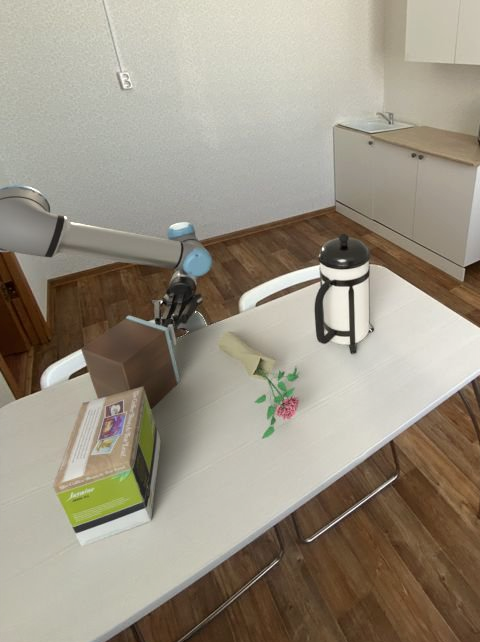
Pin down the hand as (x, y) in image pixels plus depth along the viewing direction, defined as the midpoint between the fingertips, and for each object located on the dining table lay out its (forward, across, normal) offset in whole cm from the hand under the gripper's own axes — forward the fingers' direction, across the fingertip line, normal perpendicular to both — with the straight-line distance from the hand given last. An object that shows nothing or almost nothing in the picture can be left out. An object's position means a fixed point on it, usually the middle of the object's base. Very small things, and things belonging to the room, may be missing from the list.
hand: (163, 340), depth 91 cm
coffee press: (+2, -44, -7) cm, 44 cm away
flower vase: (+13, -22, -7) cm, 26 cm away
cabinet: (+8, +5, -7) cm, 12 cm away
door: (+2, +1, -7) cm, 7 cm away
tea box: (+29, +1, -7) cm, 30 cm away
